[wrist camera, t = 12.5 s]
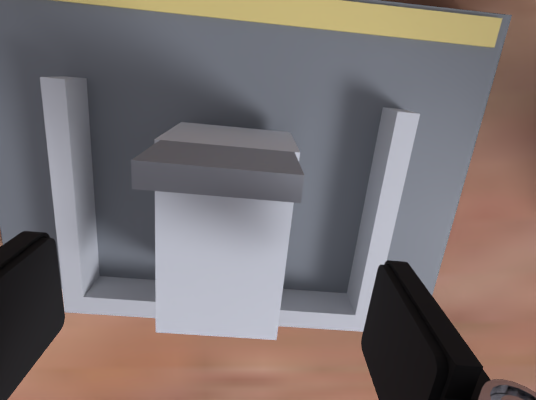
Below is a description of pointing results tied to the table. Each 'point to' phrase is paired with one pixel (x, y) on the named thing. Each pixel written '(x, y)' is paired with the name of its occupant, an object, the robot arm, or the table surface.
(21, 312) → the robot arm
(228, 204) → the lidded storage box
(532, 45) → the table surface
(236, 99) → the dock
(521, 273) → the table surface
